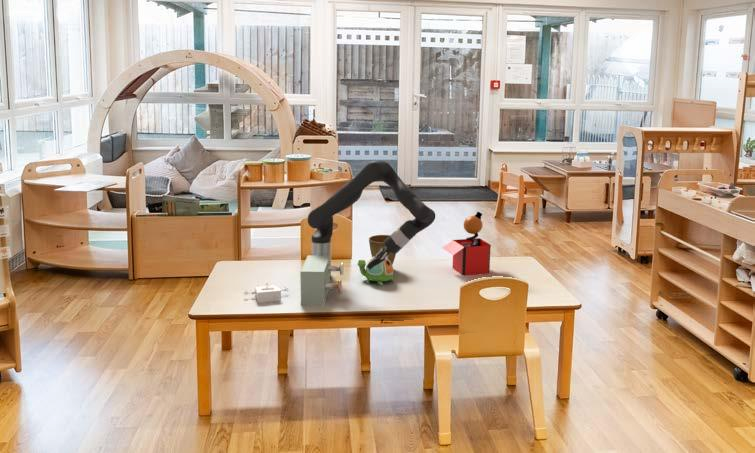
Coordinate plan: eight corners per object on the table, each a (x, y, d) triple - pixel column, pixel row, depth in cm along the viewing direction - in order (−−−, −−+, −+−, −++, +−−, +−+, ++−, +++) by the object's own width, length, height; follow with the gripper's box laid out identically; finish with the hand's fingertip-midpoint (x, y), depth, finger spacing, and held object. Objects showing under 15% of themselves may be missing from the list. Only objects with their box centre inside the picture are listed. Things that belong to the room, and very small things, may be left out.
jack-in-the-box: (487, 264, 393) (490, 207, 386) (500, 272, 379) (503, 213, 372) (440, 268, 386) (442, 209, 379) (452, 276, 372) (454, 216, 365)
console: (300, 304, 329) (300, 271, 326) (308, 286, 354) (307, 255, 351) (324, 305, 329) (323, 271, 325) (329, 286, 354) (329, 255, 351)
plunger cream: (313, 275, 343) (313, 263, 341) (314, 272, 348) (314, 260, 347) (342, 276, 342) (342, 264, 341) (343, 272, 348) (343, 260, 347)
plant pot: (362, 268, 384) (362, 237, 380) (386, 263, 393) (386, 233, 389) (380, 275, 372) (380, 243, 369) (404, 270, 381) (404, 239, 377)
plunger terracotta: (310, 293, 332) (310, 281, 331) (311, 289, 338) (311, 277, 336) (340, 294, 332) (340, 282, 330) (341, 290, 337) (341, 278, 336)
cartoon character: (285, 295, 351) (292, 300, 335) (241, 299, 345) (246, 304, 329) (284, 277, 350) (291, 282, 335) (240, 281, 344) (245, 285, 329)
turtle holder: (364, 274, 373) (365, 251, 371) (397, 280, 365) (398, 256, 362) (352, 281, 363) (352, 257, 360) (385, 287, 354) (386, 262, 352)
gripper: (391, 231, 334) (363, 257, 337) (390, 238, 321) (361, 266, 325) (403, 243, 335) (374, 269, 339) (403, 251, 322) (373, 278, 326)
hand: (368, 267), depth 332 cm, fingers closed
